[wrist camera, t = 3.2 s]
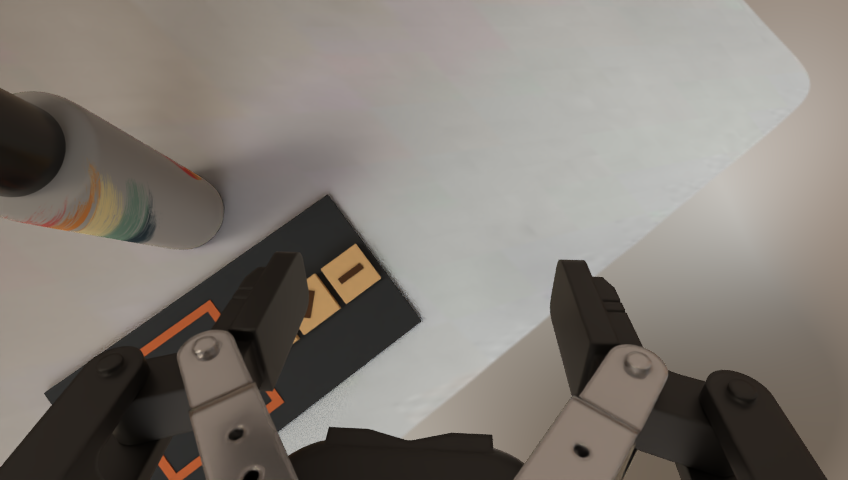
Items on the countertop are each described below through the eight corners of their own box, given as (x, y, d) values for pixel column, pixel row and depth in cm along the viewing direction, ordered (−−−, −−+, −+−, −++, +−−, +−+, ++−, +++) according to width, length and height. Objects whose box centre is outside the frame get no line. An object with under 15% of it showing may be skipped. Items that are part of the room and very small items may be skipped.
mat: (146, 532, 31) (135, 542, 30) (47, 391, 32) (33, 396, 30) (421, 320, 34) (422, 321, 33) (328, 195, 35) (326, 191, 33)
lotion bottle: (159, 167, 34) (-161, 0, 14) (234, 185, 34) (25, 47, 14) (137, 240, 33) (-233, 172, 13) (214, 258, 34) (-36, 217, 14)
